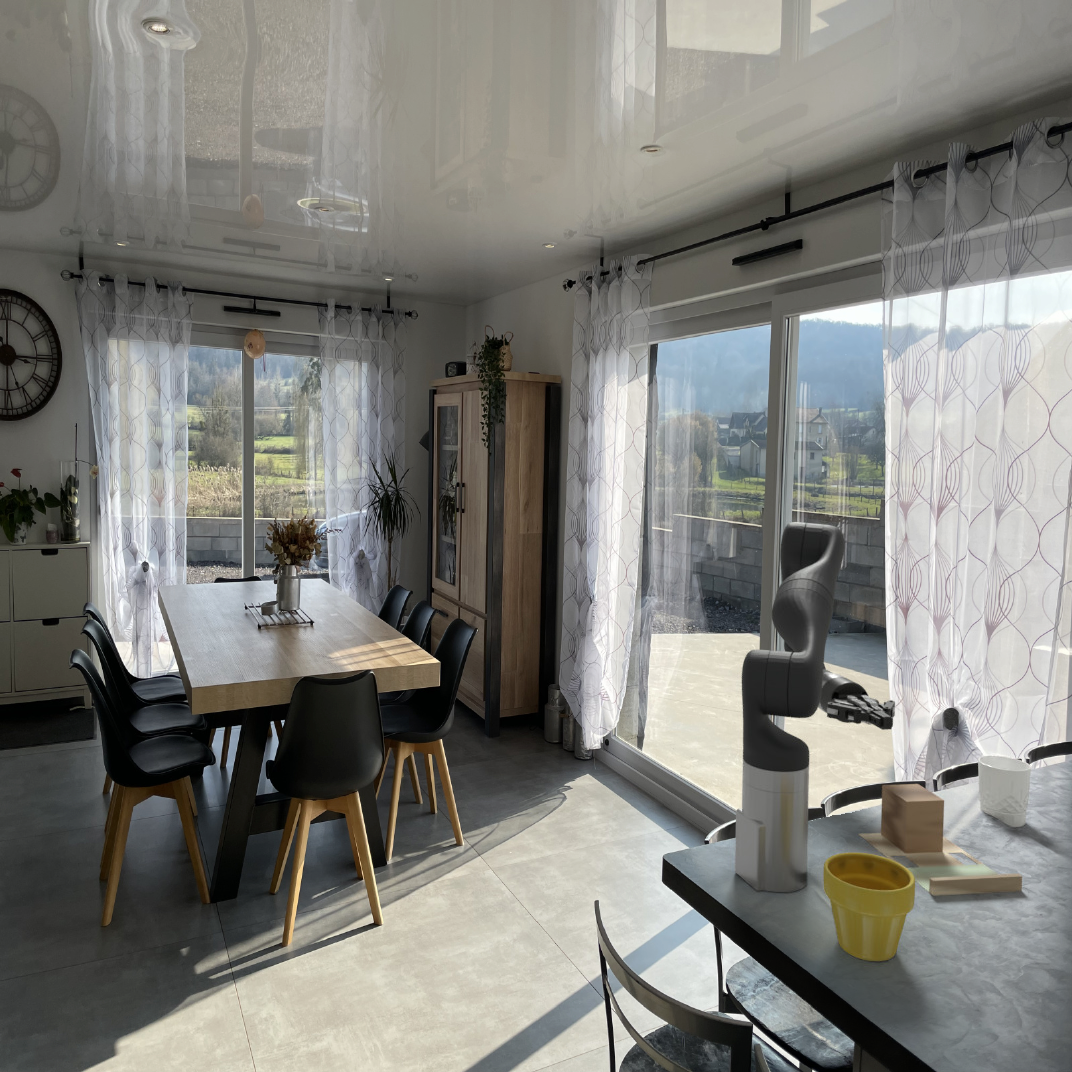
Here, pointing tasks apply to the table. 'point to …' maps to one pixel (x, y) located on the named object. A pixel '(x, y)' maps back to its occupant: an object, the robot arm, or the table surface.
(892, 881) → the plant pot
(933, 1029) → the table surface
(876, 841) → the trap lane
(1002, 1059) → the table surface
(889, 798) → the walnut block
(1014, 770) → the white cup
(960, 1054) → the table surface
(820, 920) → the table surface
